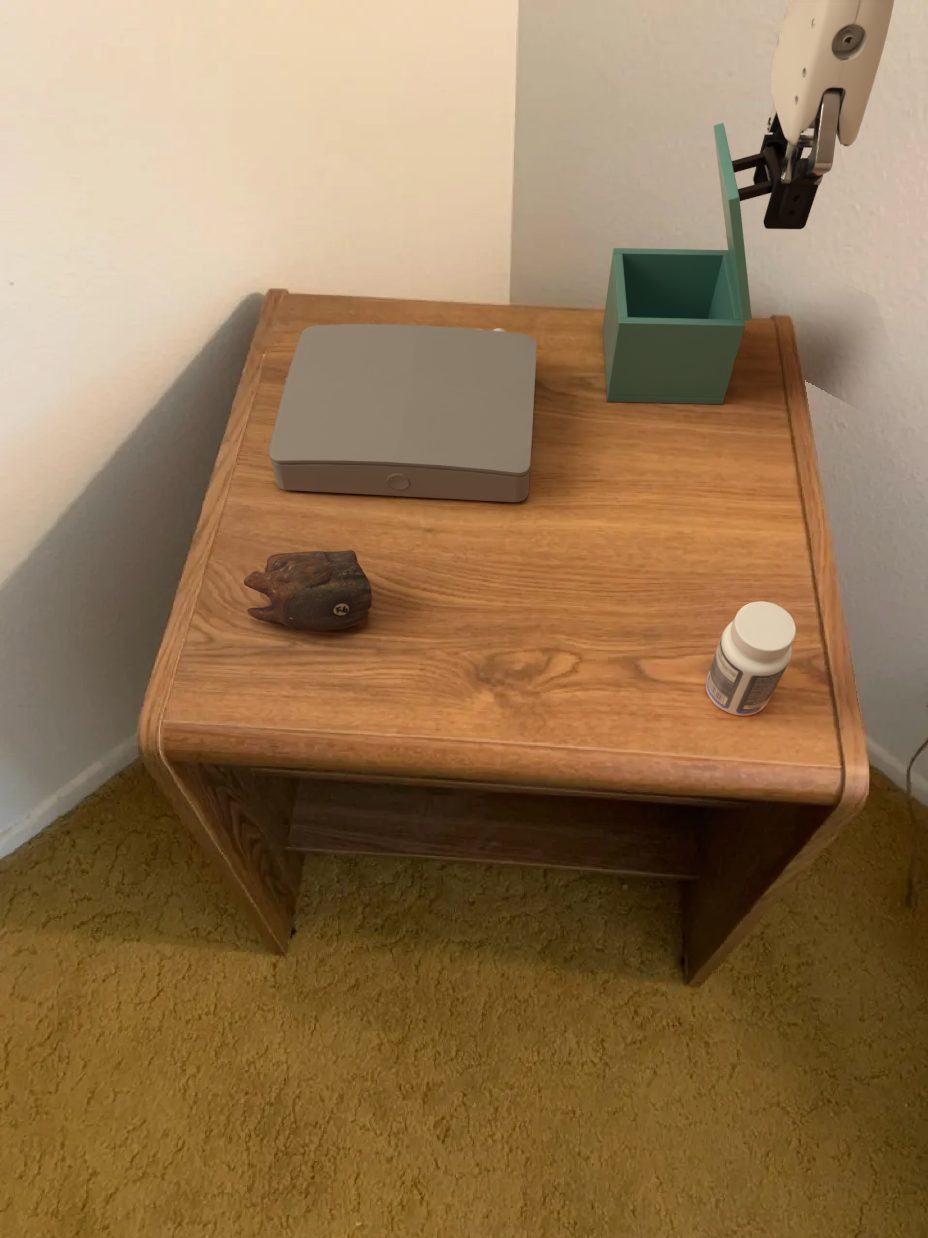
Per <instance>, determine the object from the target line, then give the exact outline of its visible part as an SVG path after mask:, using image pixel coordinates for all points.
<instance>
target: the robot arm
mask: <svg viewBox="0 0 928 1238" xmlns="http://www.w3.org/2000/svg"><path fill="white" fill-rule="evenodd" d="M894 5H895V0H788V3H787V6H786V10H785V12H784V13H785V14H784V17H783V19H782V24H781V27H780V31H779V36H778V39H777V43H776V47H775V50H774V55H773V61H772V65H771V70H770V77H769V79H770V80H769V83H770V85H769V86H770V92H771V96H772V101H773V105H772V108H771V110H770V114H769V116H768V119H767V123H766V132H767V133H765V134H764V136H763V139H762V143H761V147H760V150H759V153H762V152H763V150H764V149H765V147H766V146H767V145H769V144H771V143H779V144H781V145H782V146H783V149H784V153H785V160H784V165H783V169H782V175H781V177H778V176H776V179H775V182H774V186H773V189H772V193H770V196H769V200H768V203H767V207H766V209H765V213H764V217H763V225H764V228H765V229H767V230H802V229H804V228H805V227H806V225H807V222H808V219H809V216H810V213H811V210H812V208H813V204H814V201H815V198H816V195H817V192H818V190H819V186H820V185H821V183H822V180H823V178H824V175H825V174H827V173H829V172H831V170H832V168H833V163H834V156H835V148H836V139H838V142H839V144H840V145H842V146H843V147H850V146H851V145H853V144H854V142H855V141H856V140H857V138H858V134H859V132H860V128H861V126H862V122H863V120H864V116H865V113H866V110H867V106H868V103H869V99H870V96H871V93H872V89H873V86H874V83H875V79H876V76H877V73H878V70H879V66H880V63H881V59H882V55H883V51H884V48H885V44H886V40H887V35H888V32H889V28H890V24H891V20H892V15H893V9H894ZM808 129H811V130H812V129H813V134H812V135H809V134H808V135H806V134H804V132H806V131H808ZM806 148H807V149H810V153H809V155H807V157H802V155H803V152H804V149H806ZM752 181H753V185H755V184H758V183H762V182H766V181H769V180H768V176H767V172H766V168H765V164H764V165H761V166H757V167H755V169H754V172H753V176H752Z"/></svg>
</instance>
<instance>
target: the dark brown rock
mask: <svg viewBox="0 0 928 1238" xmlns="http://www.w3.org/2000/svg"><path fill="white" fill-rule="evenodd" d="M358 561H359V560H358V556H357V554H356V552H355V551H354V550H352V549H348V550H339V551H324V550H318V551H317V550H315V551H296V552H283V553H275V554H272V555H270V556H269V557H267V559H266V565H265V568H264V571H258V570H253V571H252V572H251V573H250V574H249V575H248V576H246V577H245V578H244V579H243V584H244V586H246V587H247V588H249V589H252V590H254V591H256V592H259V593H261V594H263V595H264V596H266V597H267V598H269V601H270V603H271V604H269V605H267V606H261V607H250V608H248V609H247V610H246V611H247V614H248V615H249V616H250V617H252V618H254V619H256V620H258V621H262V622H268V623H274V624H282V625H284V626H286V627H288V628H289V629H294V630H298V631H307V632H326V631H327V632H328V631H335V630H344V629H346V628H350V627H353V626H356V625H359V624H362V623H363V622H365V620H366V619H367V617H368V615H369V612H370V608H371V606H372V603H373V594H372V593H373V592H372V587H371V582H370V581H369V579H368V576H367V574H366V573H365V572H364V570H363V568H362V567H361V565H360V563H359V562H358Z"/></svg>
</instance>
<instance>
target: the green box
mask: <svg viewBox="0 0 928 1238" xmlns="http://www.w3.org/2000/svg"><path fill="white" fill-rule="evenodd" d="M610 262H611V263H610V270H609V278H608V283H607V284H608V285H607V292H606V299H605V300H606V301H605V307H604V314H603V322H602V339H603V340H602V342H603V358H604V376H605V392H606V393H605V394H606V402H607V403H609V402H611V403H644V404H645V403H647V404H648V403H649V404H650V403H651V404H652V403H653V404H689V405H691V404H693V405H724V401H725V397H726V394H727V390H728V387H729V384H730V380H731V376H732V373H733V369H734V366H735V363H736V359H737V356H738V353H739V349H740V345H741V342H742V339H743V335H744V332H745V328H746V321H742V319H741V313H740V308H739V303H738V298H737V292H736V287H735V282H734V277H733V271H732V266H731V261H730V256H729V251H728V249H694V248H693V249H692V248H691V249H690V248H689V249H687V248H686V249H685V248H684V249H683V248H637V247H636V248H633V247H630V248H629V247H627V248H626V247H613V248H612V255H611V261H610Z"/></svg>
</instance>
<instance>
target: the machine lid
mask: <svg viewBox="0 0 928 1238" xmlns="http://www.w3.org/2000/svg"><path fill="white" fill-rule="evenodd" d="M713 133H714V142H715V150H716V151H715V152H716V159H717V168H718V176H719V185H720V186H719V187H720V192H721V202H722V211H723V218H724V227H725V236H726V243H727V244H726V245H727V250H728V251H729V256H730V261H731V266H732V271H733V277H734V282H735V287H736V292H737V298H738V303H739V308H740V313H741V319H742V321H745V322H746V321H750V320H752V318H753V317H752V316H753V315H752V307H751V299H750V298H751V297H750V287H749V286H750V285H749V277H748V268H747V259H746V248H745V239H744V228H743V217H742V209H741V202H742V201H746V200H747V201H748V200H751V199H754V198H757V197H758V198H759V197H761V196H765V195H770V194H771V193H772V189H773V186H774V182H775V179H776V176H778V177H781V175H782V169H783V165H784V160H785V153H784V149H783V146H782V145H781V144H779V143H771V144H769V145H767V146H766V147H765V149H764V150H763V152H762V153H760V152H759V153H755V154H752V155H748V156H744V157H741V158H738V159H733V160H732V155H731V151H730V147H729V141H728V138H727V133H726V128H725V124H724V122H721V123H717V124H715V125H713ZM764 164H765V168H766V172H767V176H768V180H769V181H766V182H762V183H758V184H755V185H754V184H751V185H748V186H744V187H739V188H738V185H737V184H738V183H737V180H736V175H735V173H739V172H742V171H746V170H749V169H754V168H756V167H757V166H761V165H764Z"/></svg>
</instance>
